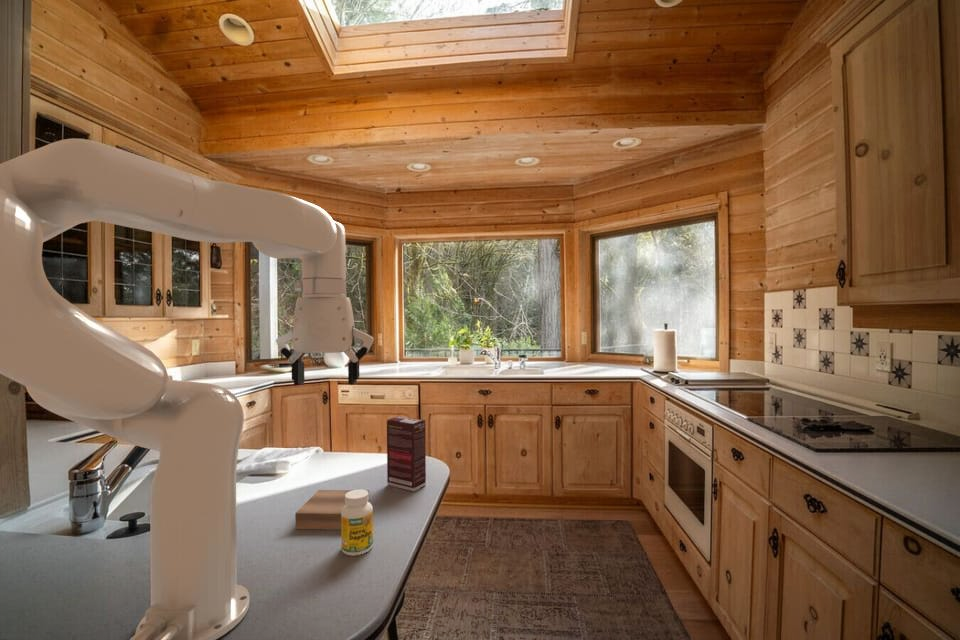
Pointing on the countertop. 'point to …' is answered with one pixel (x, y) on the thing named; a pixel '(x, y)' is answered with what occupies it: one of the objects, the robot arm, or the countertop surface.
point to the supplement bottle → (357, 523)
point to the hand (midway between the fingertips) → (326, 383)
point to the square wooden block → (322, 510)
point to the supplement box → (406, 453)
